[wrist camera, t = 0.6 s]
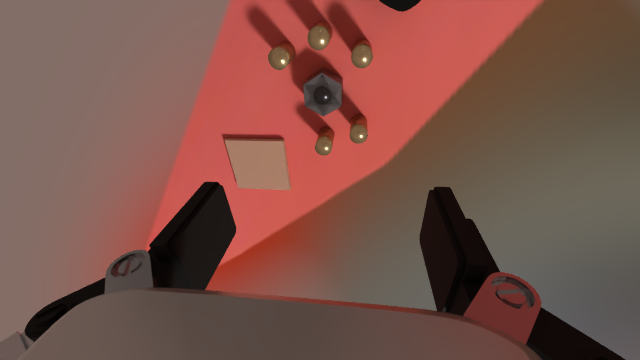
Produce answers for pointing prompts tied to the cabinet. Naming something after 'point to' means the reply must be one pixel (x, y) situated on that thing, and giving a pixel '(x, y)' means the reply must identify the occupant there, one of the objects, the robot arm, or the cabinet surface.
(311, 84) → the steel nut
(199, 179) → the cabinet surface
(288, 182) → the tan tile
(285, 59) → the brass standoffs
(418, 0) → the black sponge
